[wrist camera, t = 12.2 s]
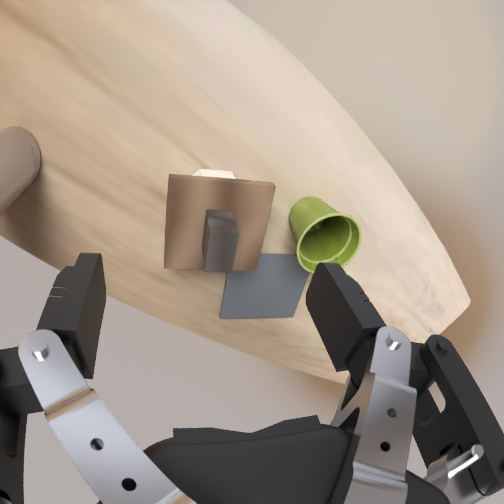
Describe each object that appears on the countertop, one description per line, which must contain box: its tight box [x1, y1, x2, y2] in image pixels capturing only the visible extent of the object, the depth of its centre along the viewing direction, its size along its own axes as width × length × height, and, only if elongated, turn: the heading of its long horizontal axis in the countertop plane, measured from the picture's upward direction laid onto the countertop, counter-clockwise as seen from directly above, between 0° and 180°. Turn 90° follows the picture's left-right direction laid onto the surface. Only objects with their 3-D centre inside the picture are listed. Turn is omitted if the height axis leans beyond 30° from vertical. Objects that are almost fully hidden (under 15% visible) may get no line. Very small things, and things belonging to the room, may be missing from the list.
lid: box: [164, 174, 276, 272], centre depth 35 cm, size 12×12×6 cm
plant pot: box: [289, 197, 362, 273], centre depth 43 cm, size 9×9×9 cm
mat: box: [220, 254, 309, 319], centre depth 53 cm, size 14×14×1 cm
